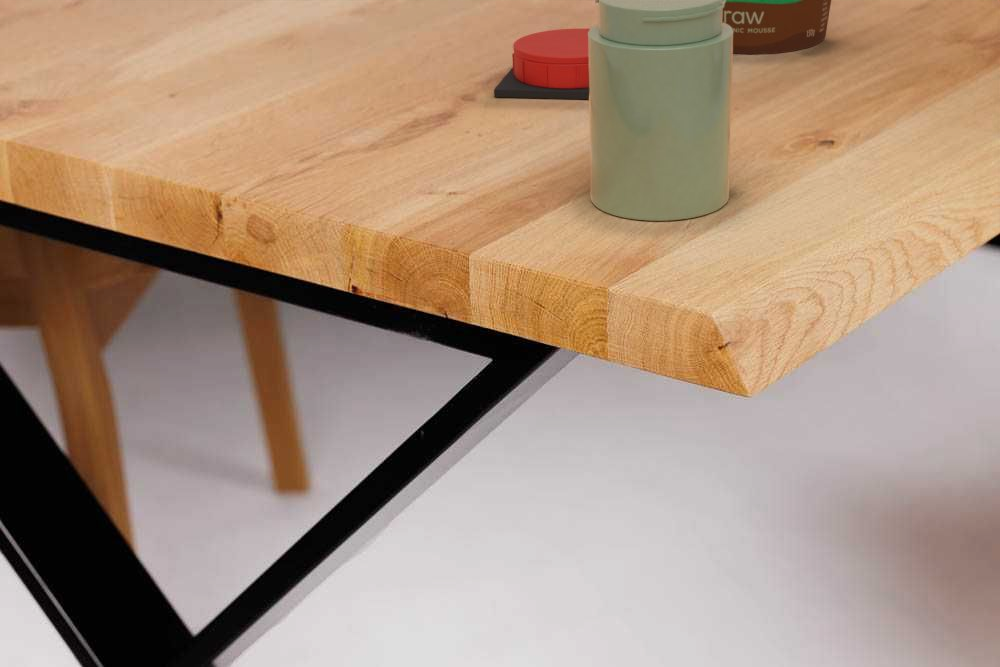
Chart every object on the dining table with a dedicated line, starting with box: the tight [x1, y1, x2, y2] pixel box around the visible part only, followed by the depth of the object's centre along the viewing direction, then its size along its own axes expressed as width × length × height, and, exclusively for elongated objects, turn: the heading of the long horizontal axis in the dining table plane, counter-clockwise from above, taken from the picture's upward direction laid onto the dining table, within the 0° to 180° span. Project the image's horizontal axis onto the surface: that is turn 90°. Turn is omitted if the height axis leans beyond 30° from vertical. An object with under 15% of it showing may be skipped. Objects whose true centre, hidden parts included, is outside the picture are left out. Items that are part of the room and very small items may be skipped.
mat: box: [493, 67, 589, 100], centre depth 88 cm, size 8×8×1 cm
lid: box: [512, 28, 591, 89], centre depth 88 cm, size 7×7×2 cm
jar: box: [588, 0, 734, 222], centre depth 67 cm, size 7×7×10 cm
